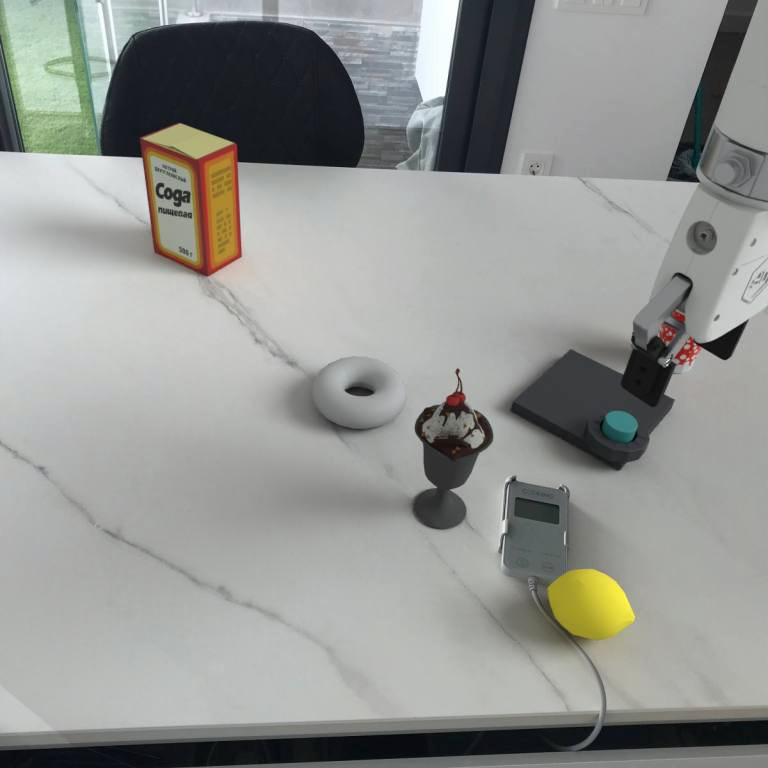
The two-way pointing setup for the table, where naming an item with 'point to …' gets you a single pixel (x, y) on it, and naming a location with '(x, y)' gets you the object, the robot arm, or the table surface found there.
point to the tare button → (619, 426)
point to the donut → (358, 408)
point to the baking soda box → (193, 197)
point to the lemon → (590, 604)
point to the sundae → (449, 456)
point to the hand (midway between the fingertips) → (676, 372)
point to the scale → (588, 408)
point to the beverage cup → (688, 350)
